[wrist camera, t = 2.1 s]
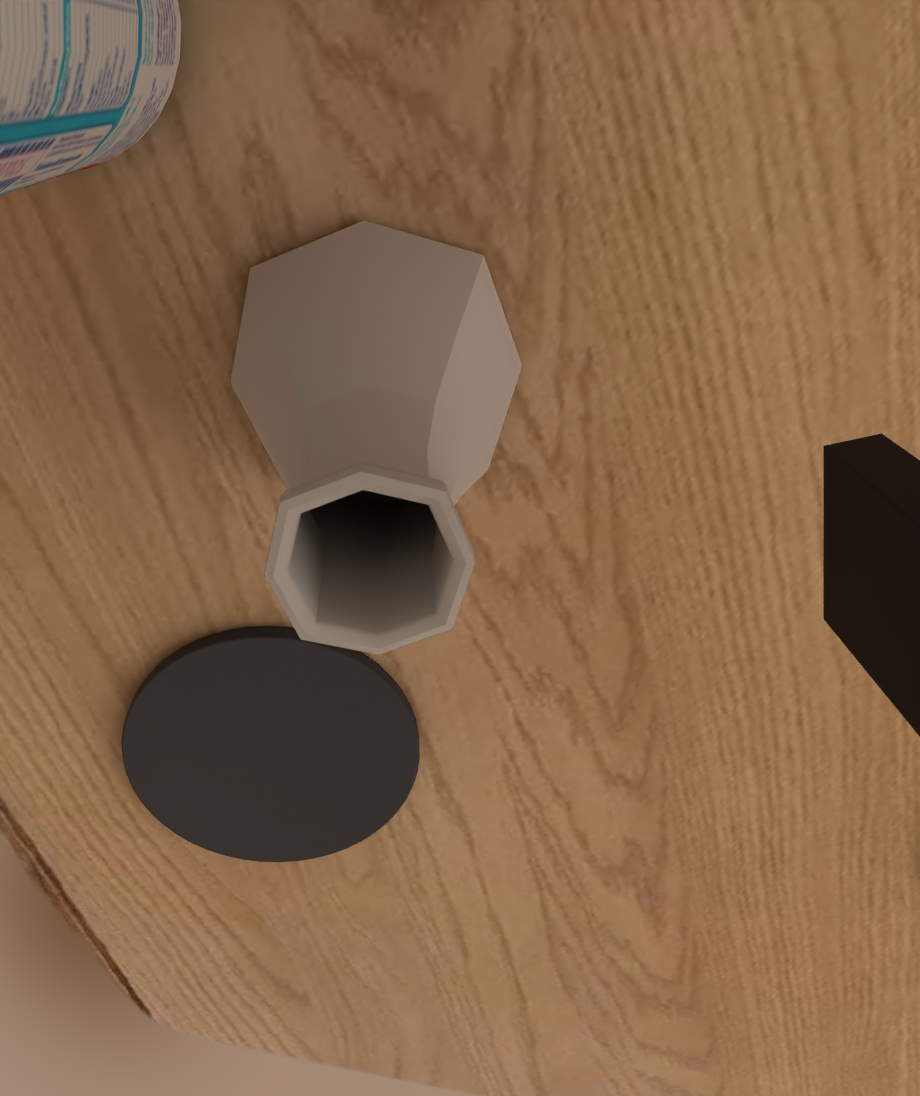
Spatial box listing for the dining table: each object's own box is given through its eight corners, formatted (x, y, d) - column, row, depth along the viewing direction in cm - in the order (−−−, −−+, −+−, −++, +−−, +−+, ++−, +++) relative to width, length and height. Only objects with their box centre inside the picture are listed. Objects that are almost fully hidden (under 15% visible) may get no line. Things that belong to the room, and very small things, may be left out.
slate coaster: (78, 660, 25) (71, 673, 25) (381, 597, 25) (380, 608, 25) (185, 871, 30) (182, 885, 29) (444, 819, 29) (446, 833, 29)
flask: (521, 492, 24) (598, 736, 15) (253, 510, 24) (174, 770, 15) (520, 210, 20) (619, 314, 12) (205, 226, 20) (65, 346, 11)
